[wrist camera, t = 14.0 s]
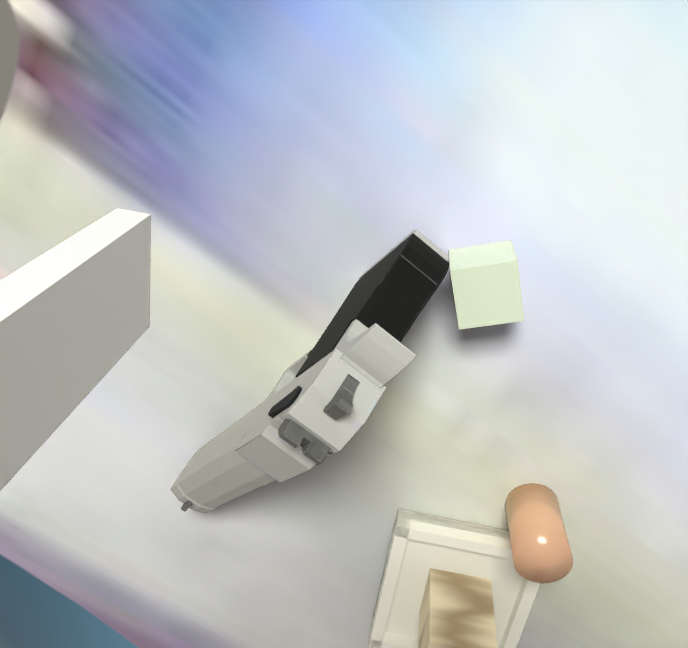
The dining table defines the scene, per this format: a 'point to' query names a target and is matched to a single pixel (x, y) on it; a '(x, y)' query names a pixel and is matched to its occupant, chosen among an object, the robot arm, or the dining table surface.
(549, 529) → the peach capsule
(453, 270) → the sage block
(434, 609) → the birch block
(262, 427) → the handgun
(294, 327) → the dining table surface
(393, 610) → the tray
